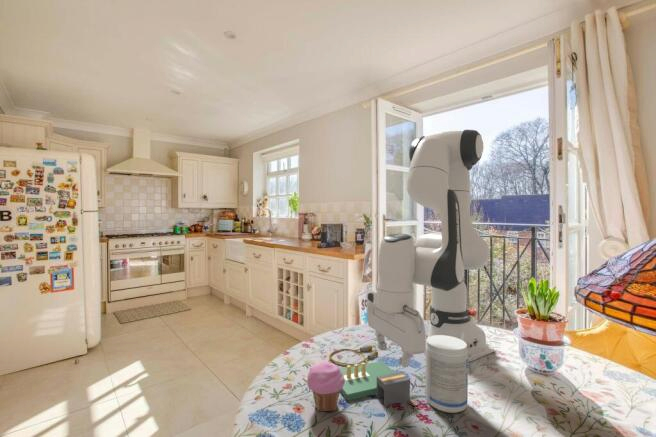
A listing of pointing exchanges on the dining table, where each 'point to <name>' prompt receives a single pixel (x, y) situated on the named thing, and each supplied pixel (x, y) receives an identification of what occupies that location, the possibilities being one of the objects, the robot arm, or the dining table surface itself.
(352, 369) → the header board
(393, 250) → the robot arm
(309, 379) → the cupcake
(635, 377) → the dining table surface
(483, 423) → the dining table surface
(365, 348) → the extension cord
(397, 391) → the box
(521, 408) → the dining table surface
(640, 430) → the dining table surface
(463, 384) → the supplement tub
